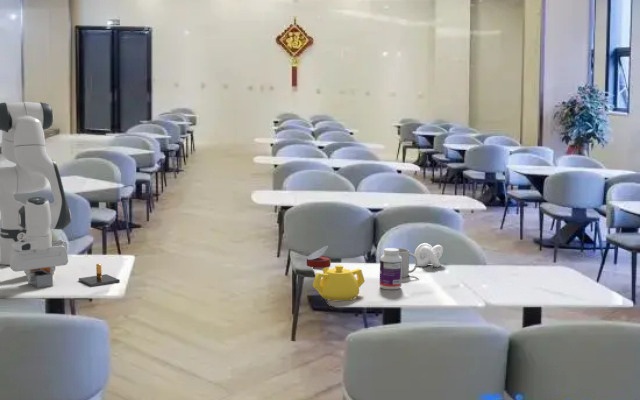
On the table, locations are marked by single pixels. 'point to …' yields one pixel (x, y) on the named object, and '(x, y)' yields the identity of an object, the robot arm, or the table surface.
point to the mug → (406, 261)
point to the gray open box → (41, 279)
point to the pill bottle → (390, 269)
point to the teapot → (338, 283)
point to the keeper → (99, 278)
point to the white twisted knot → (428, 254)
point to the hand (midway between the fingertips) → (40, 280)
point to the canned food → (319, 259)
